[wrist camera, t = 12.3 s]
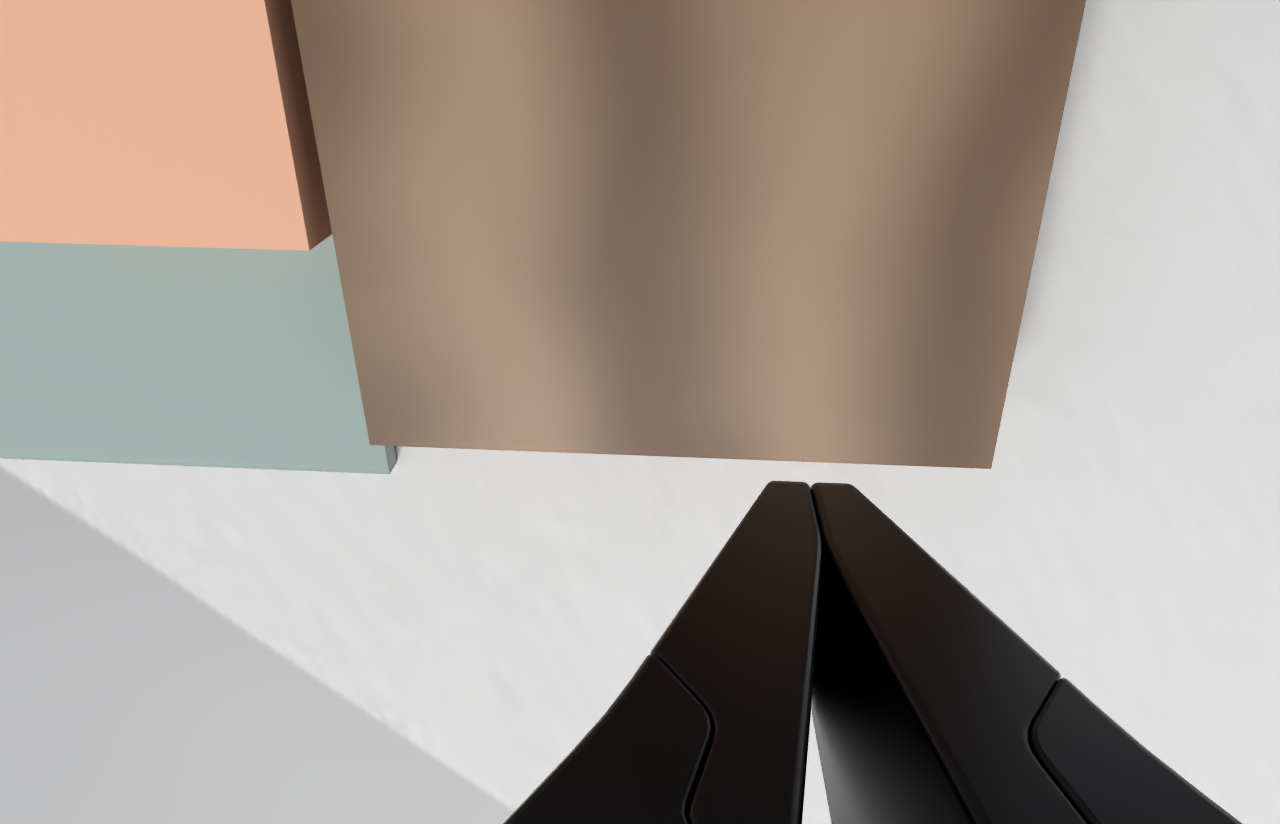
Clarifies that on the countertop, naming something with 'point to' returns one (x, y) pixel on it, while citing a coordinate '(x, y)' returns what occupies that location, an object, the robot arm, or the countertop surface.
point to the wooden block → (687, 219)
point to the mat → (180, 358)
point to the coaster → (157, 125)
